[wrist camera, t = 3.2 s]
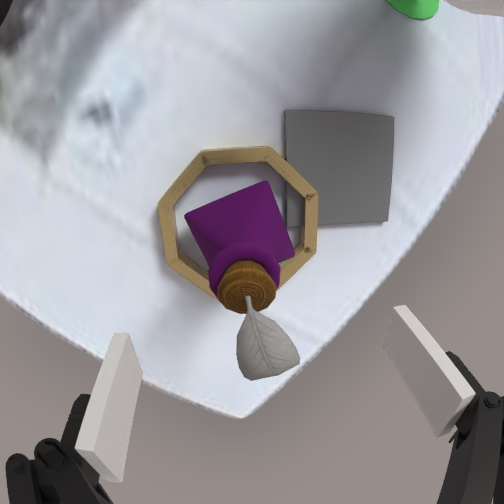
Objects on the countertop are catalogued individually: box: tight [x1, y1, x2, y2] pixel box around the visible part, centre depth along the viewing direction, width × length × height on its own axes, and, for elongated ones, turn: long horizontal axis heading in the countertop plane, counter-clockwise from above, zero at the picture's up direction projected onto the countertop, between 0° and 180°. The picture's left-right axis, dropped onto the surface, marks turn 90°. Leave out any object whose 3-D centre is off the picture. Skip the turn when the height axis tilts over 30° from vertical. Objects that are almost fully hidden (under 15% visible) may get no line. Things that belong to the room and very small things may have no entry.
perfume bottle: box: [184, 180, 300, 381], centre depth 21 cm, size 8×8×18 cm
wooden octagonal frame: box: [158, 146, 318, 299], centre depth 28 cm, size 14×14×2 cm
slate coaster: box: [284, 110, 394, 227], centre depth 27 cm, size 11×11×1 cm
